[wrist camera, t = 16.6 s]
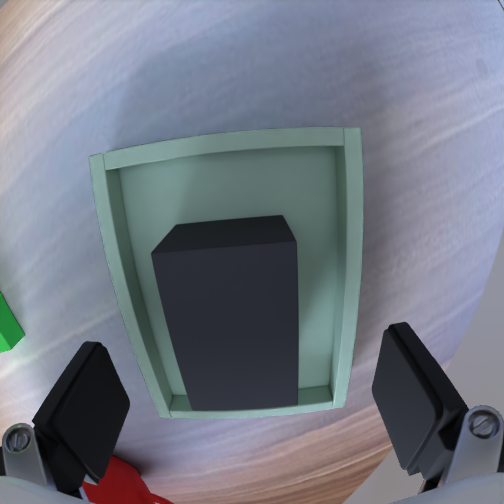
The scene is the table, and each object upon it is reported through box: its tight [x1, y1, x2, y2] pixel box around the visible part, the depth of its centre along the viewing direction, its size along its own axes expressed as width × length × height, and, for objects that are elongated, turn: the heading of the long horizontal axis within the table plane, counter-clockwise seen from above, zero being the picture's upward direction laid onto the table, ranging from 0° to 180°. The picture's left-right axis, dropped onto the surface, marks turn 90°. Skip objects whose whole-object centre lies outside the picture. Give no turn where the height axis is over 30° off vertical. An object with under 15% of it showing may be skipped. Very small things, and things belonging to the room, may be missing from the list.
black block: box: [151, 215, 299, 411], centre depth 13 cm, size 5×8×4 cm, turn 5°
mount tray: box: [89, 127, 363, 419], centre depth 15 cm, size 12×16×2 cm
